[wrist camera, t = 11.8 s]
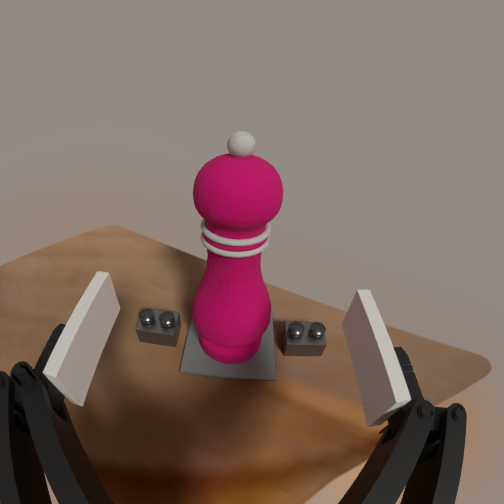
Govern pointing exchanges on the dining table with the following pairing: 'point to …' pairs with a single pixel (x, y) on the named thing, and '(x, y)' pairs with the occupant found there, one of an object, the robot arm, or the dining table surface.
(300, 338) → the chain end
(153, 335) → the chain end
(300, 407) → the dining table surface
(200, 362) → the plate
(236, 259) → the pepper mill
